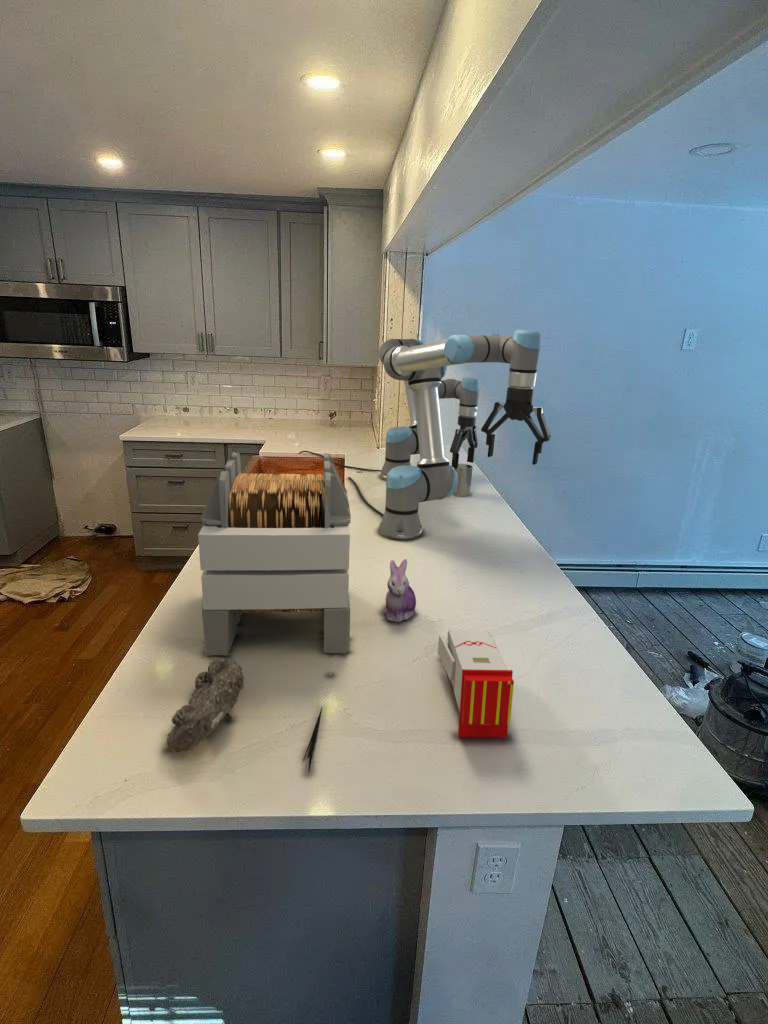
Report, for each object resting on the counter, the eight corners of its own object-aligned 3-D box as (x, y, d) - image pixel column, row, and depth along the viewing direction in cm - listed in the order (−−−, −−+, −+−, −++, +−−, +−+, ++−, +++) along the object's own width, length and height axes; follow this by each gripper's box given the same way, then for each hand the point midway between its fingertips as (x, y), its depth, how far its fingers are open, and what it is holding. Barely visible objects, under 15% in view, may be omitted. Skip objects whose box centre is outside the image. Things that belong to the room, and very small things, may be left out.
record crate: (226, 586, 157) (217, 442, 143) (344, 585, 161) (346, 445, 147) (202, 658, 125) (189, 482, 112) (350, 654, 129) (354, 483, 115)
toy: (488, 613, 130) (523, 677, 101) (484, 667, 133) (517, 744, 104) (435, 612, 130) (455, 676, 101) (432, 666, 133) (451, 743, 103)
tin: (447, 491, 249) (450, 464, 244) (462, 489, 253) (465, 463, 248) (458, 497, 242) (461, 469, 238) (473, 495, 246) (476, 467, 242)
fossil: (192, 660, 117) (244, 628, 112) (224, 691, 120) (276, 661, 115) (142, 746, 98) (202, 712, 93) (182, 779, 101) (242, 748, 96)
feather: (331, 679, 122) (336, 673, 122) (307, 777, 96) (313, 769, 95) (324, 675, 122) (329, 669, 121) (298, 772, 95) (304, 764, 95)
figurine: (392, 627, 141) (395, 572, 136) (374, 608, 149) (376, 556, 144) (425, 619, 145) (429, 566, 140) (405, 601, 154) (408, 550, 149)
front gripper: (568, 390, 158) (557, 464, 165) (483, 381, 169) (476, 451, 177) (562, 393, 152) (550, 469, 159) (474, 383, 163) (467, 455, 170)
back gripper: (460, 421, 225) (455, 472, 232) (489, 413, 244) (483, 461, 251) (444, 418, 229) (439, 468, 236) (473, 411, 248) (468, 458, 255)
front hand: (512, 460), depth 168 cm, fingers open, 13 cm apart
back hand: (462, 465), depth 244 cm, fingers open, 13 cm apart
